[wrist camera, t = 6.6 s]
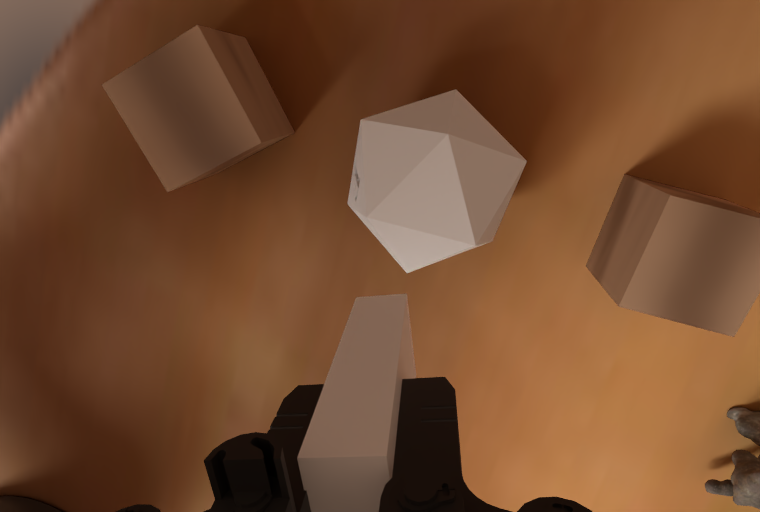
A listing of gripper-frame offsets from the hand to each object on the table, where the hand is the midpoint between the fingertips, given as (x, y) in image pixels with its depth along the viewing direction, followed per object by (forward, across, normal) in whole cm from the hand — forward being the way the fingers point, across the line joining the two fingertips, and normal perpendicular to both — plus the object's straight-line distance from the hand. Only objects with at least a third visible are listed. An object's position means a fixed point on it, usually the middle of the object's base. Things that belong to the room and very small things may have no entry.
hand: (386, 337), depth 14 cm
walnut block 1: (+17, +10, -7) cm, 21 cm away
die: (+17, -2, -2) cm, 17 cm away
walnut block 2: (+17, -14, +3) cm, 22 cm away
